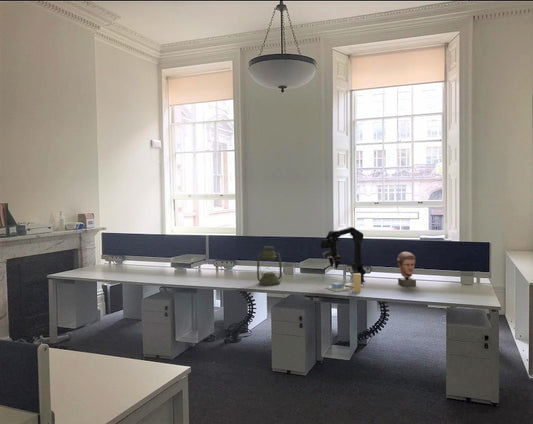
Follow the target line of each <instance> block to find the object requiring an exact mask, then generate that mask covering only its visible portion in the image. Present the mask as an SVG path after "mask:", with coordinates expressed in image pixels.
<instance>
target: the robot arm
mask: <svg viewBox="0 0 533 424" xmlns="http://www.w3.org/2000/svg"><path fill="white" fill-rule="evenodd" d="M348 234H349V235H351V237H352V241H353V242H354V256H353V257H354V258H353V259H354V260H353V262H351V271H353V274H354V273H361V283H363V282H366V280H365V278H364V277H365V275H366V273H367V272H366V270H365V269H364V266H363V263H362V242H363V240H364V233H363V232H362V231H360V230H358V229H356V228H355V227H353V226H349V227H346V228H342V229H339V230H329V231H328V233H327V236H326V237H325V239H322V240H321V242H320V248H321V249H323V250H325V249H328V251H325V252H323V253H321V254H322V257H323V258H325V259H327V260H328V262H329V264H330V267H333V266H334V267H335V269H336V270H337V269H338V268H339V265H340V263H341V261H342V260H343V257H342V256H341V255H339V254H338V251H339V248H338V242H340V240H339V238H340V237H341V236H344V235H348Z"/></svg>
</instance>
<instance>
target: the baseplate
mask: <svg viewBox="0 0 533 424" xmlns="http://www.w3.org/2000/svg"><path fill="white" fill-rule="evenodd" d="M325 289H327V290H331V291H333V292H344V291H349V290H351V288H350V287H349V286H344V288H339V289H337V288H332V285H327V286H325Z"/></svg>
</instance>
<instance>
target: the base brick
mask: <svg viewBox="0 0 533 424" xmlns="http://www.w3.org/2000/svg"><path fill="white" fill-rule="evenodd" d="M344 284H345V283H344V282H343V283H342V282H338V281H337V282H332V283H331V286H332V288H337V289H339V288H344V287H345V285H344Z"/></svg>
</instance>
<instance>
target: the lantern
mask: <svg viewBox="0 0 533 424" xmlns="http://www.w3.org/2000/svg"><path fill="white" fill-rule="evenodd" d="M274 248H275V246H273V245H265V246H263V248H262V249H263V251H262V252H261V253H259V255H258V256H257V257H256V258H257V260H256V263H257V265H256V276H257V277H256V278H257V281H258V284H259V285H260V286H263V287H264V286H265V287H270V286H271V287H273V286H279V285H280V284H281V282H282V278H283V274H282V272H283V266H282V258H281V254H280V253H279V252H277V251H275V249H274ZM277 256H278V265H279V276H277V275H276V272H273V271H274V270H272V269H271V271H269V272H268V271H267V272H264V271H265V270H266V269H269V268H271V266H268V267H265V265H263V262H264V260H265V261H275V258H277ZM260 258H263V260H262V262H261V264H262V265H263V267H264V269H263V271H262V270H261V266H260ZM276 263H277V262H275V264H274V265H276ZM260 276H261V278H260Z"/></svg>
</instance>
